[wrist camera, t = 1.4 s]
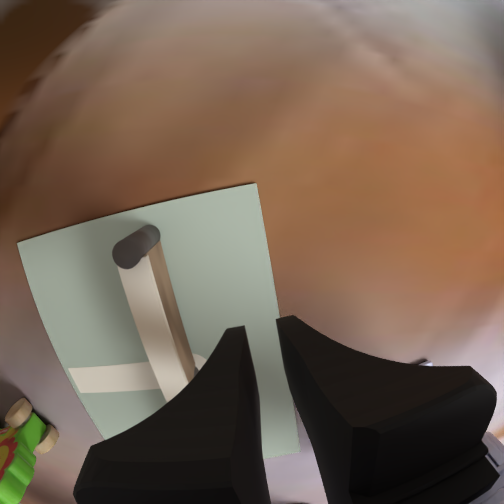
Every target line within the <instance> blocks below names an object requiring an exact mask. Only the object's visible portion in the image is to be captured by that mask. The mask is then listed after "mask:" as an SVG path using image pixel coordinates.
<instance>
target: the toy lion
mask: <svg viewBox="0 0 504 504" xmlns="http://www.w3.org/2000/svg"><path fill="white" fill-rule="evenodd" d="M31 410H32V405H31V404H30V403H29V402H28V401H27V400H26V399H25V398H21V399H20V400H18V401H17V402H16V403H15V404H14V405H13V406H12V407H11V408H10V410H9V411H8V413H7V414H6V417H5V421H6V422H7V423H8V424H9V425H10V426H8V427H6V428H4V429H0V504H18V503H19V502H20V501H21V499H22V497H23V495H24V493H25V490H26V487H27V486H28V484H29V483H30V481H31V480H32V478H33V475H34V468H33V467H34V465H35V462H36V456H35V455H34V454H33V451H34V449H35V450H36V451H37V452H38V453H39V454H44V453H46V452H47V451H49V450H50V449H51V448H52V447H53V446H54V445H55V443H56V442H57V440H58V437H59V432H58V431H57V430H56V429H55V428H54V427H53V426H52V425H47V426H46V425H45V424H44V423H43V422H42V421H41V420H40V419H39V418H38V416H37V415H36V414H35V413H33V412H32V413H31Z"/></svg>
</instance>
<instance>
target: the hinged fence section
mask: <svg viewBox="0 0 504 504" xmlns="http://www.w3.org/2000/svg"><path fill="white" fill-rule="evenodd" d="M160 238H161V235H160V231H159V229H158V228H157V227H156V226H154V225H145V226H143V227H142V228H140V229H138V230H137V231H135V232H133V233H132V234H130V235H128V236H127V237H125V238H124V239H122V240H120V241H119V242H117V243H116V244H115V245H114V247H113V250H112V257H113V260H114V262H115V263H116V265H117V267H118V270H119V274H120V277H121V281H122V284H123V287H124V290H125V294H126V297H127V300H128V303H129V306H130V309H131V312H132V315H133V318H134V321H135V324H136V327H137V329H138V332H139V335H140V338H141V340H142V343H143V346H144V348H145V351H146V354H147V356H148V359H149V361H150V364H151V366H152V369H153V371H154V374H155V376H156V378H157V381H158V383H159V385H160V388H161V390H162V392H163V395H164V397H165V399H166V401H167V402H169V401H170V400H171V399H173V398H174V397H175V396H176V395H177V394H178V393H179V392H180V391H181V390H182V389H183V388H184V387H185V386H186V385H187V384H188V383H189V382H190V381H191V380H192V379H193V377H194V370H195V361H194V358H193V355H192V352H191V348H190V345H189V342H188V339H187V336H186V332H185V329H184V326H183V323H182V319H181V316H180V312H179V309H178V306H177V302H176V299H175V295H174V291H173V288H172V284H171V280H170V277H169V273H168V269H167V265H166V261H165V257H164V253H163V249H162V245H161V241H160Z"/></svg>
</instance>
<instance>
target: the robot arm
mask: <svg viewBox="0 0 504 504" xmlns="http://www.w3.org/2000/svg"><path fill="white" fill-rule="evenodd" d="M276 325H277V331H278V336H279V342H280V348H281V354H282V360H283V366H284V371H285V374H286V378H287V382H288V386H289V390H290V392H291V395H292V397H293V400H294V402H295V405H296V407H297V410H298V412H299V414H300V417H301V419H302V422H303V424H304V426H305V429H306V431H307V434H308V436H309V438H310V441H311V444H312V447H313V450H314V453H315V457H316V460H317V464H318V467H319V471H320V475H321V478H322V482H323V486H324V489H325V493H326V497H327V500H328V504H504V445H503V444H502V443H501V442H500V441H499V440H498V439H497V438H496V437H495V436H494V435H493V434H492V433H490V432H486V430H487V428H488V425H489V423H490V421H491V418H492V416H493V413H494V410H495V407H496V402H497V392H496V391H495V389H494V387H493V386H492V385H491V384H490V383H489V382H488V381H487V380H486V379H484V378H483V377H482V376H481V375H480V374H479V373H478V372H477V371H475V370H474V369H473V368H472V367H471V366H433V364H432V362H431V361H426V362H424V363H421V364H419V365H414V364H407V363H400V362H395V361H391V360H386V359H382V358H378V357H374V356H371V355H368V354H365V353H362V352H359V351H356V350H354V349H351V348H349V347H347V346H344V345H342V344H340V343H338V342H336V341H334V340H332V339H330V338H328V337H326V336H325V335H323V334H321V333H320V332H318V331H316V330H315V329H313V328H312V327H310V326H309V325H307V324H306V323H304V322H303V321H301V320H300V319H298V318H297V317H296V316H294V315H292V316H287V317H282V318H278V319H276ZM73 496H74V498H75V500H76V502H77V504H271V501H270V495H269V490H268V484H267V479H266V473H265V467H264V461H263V452H262V435H261V414H260V396H259V390H258V385H257V379H256V373H255V369H254V364H253V360H252V356H251V351H250V347H249V342H248V338H247V333H246V329H245V325H243V326H238V327H232V328H227V329H226V330H225V332H224V333H223V335H222V337H221V339H220V340H219V342H218V344H217V345H216V347H215V349H214V350H213V352H212V353H211V355H210V357H209V358H208V360H207V361H206V362H205V364H204V365H203V366H202V368H201V369H200V370H199V372H198V373H197V374H196V376H195V377H194V378H193V379H192V380H191V381H190V382H189V383H188V384H187V385H186V386H185V387H184V388H183V389H182V390H181V391H180V392H179V393H178V394H177V395H176V396H175V397H174V398H173V399H171V400H170V401H169V402H168V403H166V404H165V405H164V406H163V407H161V408H160V409H159V410H157V411H156V412H155V413H153V414H152V415H150V416H149V417H147V418H146V419H144V420H143V421H141V422H140V423H138V424H136V425H134V426H133V427H131V428H129V429H127V430H125V431H124V432H122V433H119V434H117V435H115V436H113V437H111V438H109V439H106V440H104V441H102V442H100V443H97V444H95V445H92V446H91V447H90V449H89V451H88V454H87V456H86V458H85V461H84V463H83V466H82V468H81V471H80V473H79V476H78V479H77V481H76V484H75V487H74V491H73Z"/></svg>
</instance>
